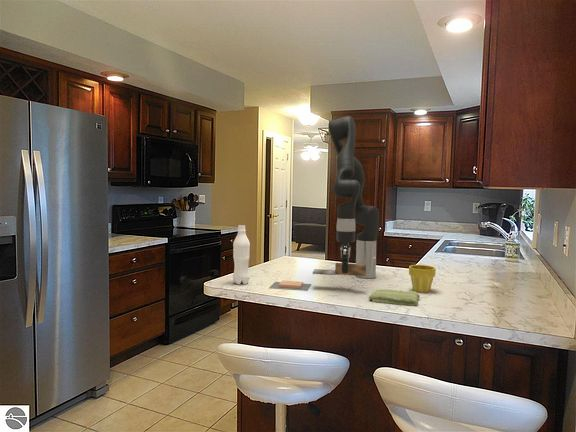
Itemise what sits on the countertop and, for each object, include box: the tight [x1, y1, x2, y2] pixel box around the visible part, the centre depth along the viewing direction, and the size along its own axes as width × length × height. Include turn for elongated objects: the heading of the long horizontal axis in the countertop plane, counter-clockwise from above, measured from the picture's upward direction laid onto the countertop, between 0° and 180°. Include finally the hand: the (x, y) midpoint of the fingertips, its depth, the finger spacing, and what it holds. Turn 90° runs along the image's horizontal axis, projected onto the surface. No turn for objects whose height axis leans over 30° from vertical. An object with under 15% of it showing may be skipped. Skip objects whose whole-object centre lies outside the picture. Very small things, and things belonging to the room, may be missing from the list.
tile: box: [279, 280, 304, 289], centre depth 175 cm, size 1×7×9 cm
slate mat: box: [268, 281, 313, 292], centre depth 175 cm, size 16×12×1 cm
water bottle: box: [232, 224, 251, 285], centre depth 180 cm, size 7×7×25 cm
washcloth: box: [368, 289, 421, 307], centre depth 158 cm, size 13×18×3 cm
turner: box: [312, 262, 366, 277], centre depth 170 cm, size 21×6×4 cm, turn 79°
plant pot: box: [408, 264, 437, 293], centre depth 173 cm, size 10×10×10 cm
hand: (345, 271), depth 170 cm, fingers closed on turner, 4 cm apart
